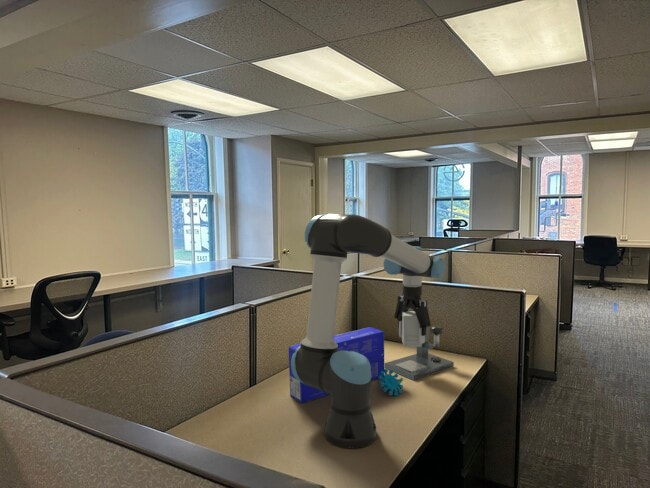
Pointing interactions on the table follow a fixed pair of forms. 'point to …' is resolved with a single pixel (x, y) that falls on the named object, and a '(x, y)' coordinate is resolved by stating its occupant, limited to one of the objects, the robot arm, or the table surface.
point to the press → (419, 363)
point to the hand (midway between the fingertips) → (411, 339)
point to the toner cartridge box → (357, 341)
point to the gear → (390, 382)
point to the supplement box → (410, 329)
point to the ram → (436, 334)
